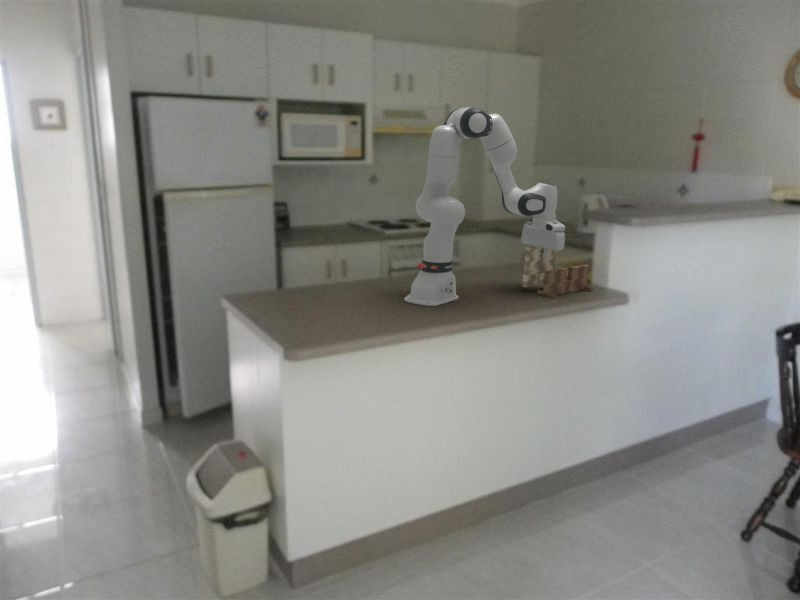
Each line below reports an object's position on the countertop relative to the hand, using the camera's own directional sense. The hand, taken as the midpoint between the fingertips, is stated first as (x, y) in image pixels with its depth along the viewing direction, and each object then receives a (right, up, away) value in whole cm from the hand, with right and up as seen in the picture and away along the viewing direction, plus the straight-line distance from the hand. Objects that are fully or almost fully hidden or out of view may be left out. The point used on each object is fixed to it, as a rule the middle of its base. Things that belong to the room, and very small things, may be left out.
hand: (540, 258), depth 241 cm
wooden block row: (+10, -14, 0) cm, 17 cm away
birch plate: (0, -11, +3) cm, 11 cm away
